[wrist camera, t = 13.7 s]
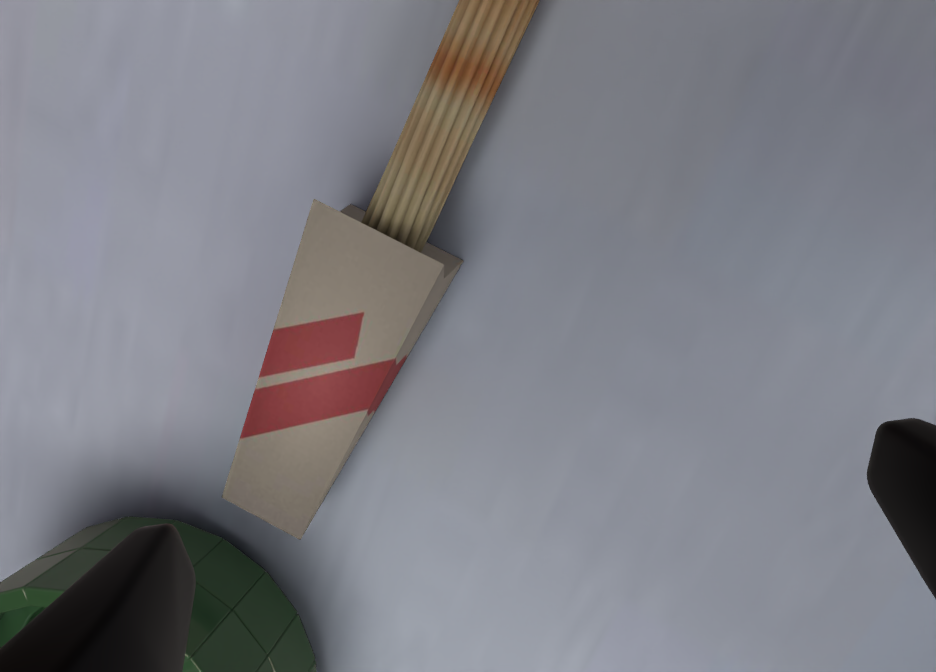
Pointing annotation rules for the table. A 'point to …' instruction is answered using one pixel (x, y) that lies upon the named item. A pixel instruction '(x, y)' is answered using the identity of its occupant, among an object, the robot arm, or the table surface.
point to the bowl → (214, 607)
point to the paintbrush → (367, 284)
